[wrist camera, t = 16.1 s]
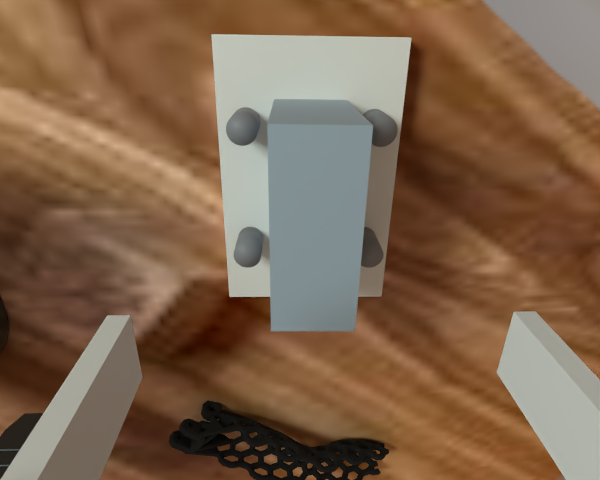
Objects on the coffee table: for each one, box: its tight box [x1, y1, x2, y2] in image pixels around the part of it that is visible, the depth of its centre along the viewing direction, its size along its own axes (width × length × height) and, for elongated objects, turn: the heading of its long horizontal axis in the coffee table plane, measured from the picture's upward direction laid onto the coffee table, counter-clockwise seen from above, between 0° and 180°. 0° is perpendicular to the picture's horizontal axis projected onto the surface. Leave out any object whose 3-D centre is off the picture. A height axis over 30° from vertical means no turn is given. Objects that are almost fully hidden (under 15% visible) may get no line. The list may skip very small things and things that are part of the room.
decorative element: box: [169, 401, 389, 480], centre depth 42 cm, size 22×5×6 cm, turn 73°
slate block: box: [267, 99, 373, 331], centre depth 27 cm, size 12×5×10 cm, turn 179°
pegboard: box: [211, 34, 411, 297], centre depth 31 cm, size 20×13×4 cm, turn 179°
